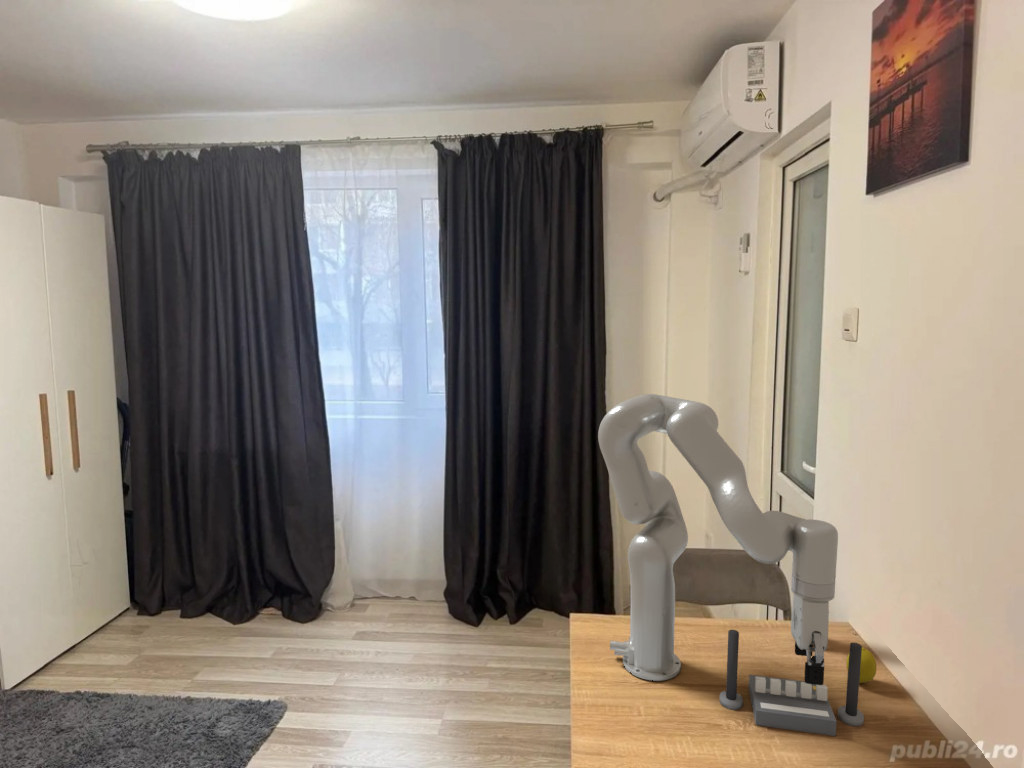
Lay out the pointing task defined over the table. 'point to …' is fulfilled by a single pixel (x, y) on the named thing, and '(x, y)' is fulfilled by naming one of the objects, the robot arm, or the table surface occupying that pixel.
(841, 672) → the table surface
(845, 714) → the cord post right
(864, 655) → the lemon
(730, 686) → the cord post left
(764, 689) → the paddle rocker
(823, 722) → the breaker panel
